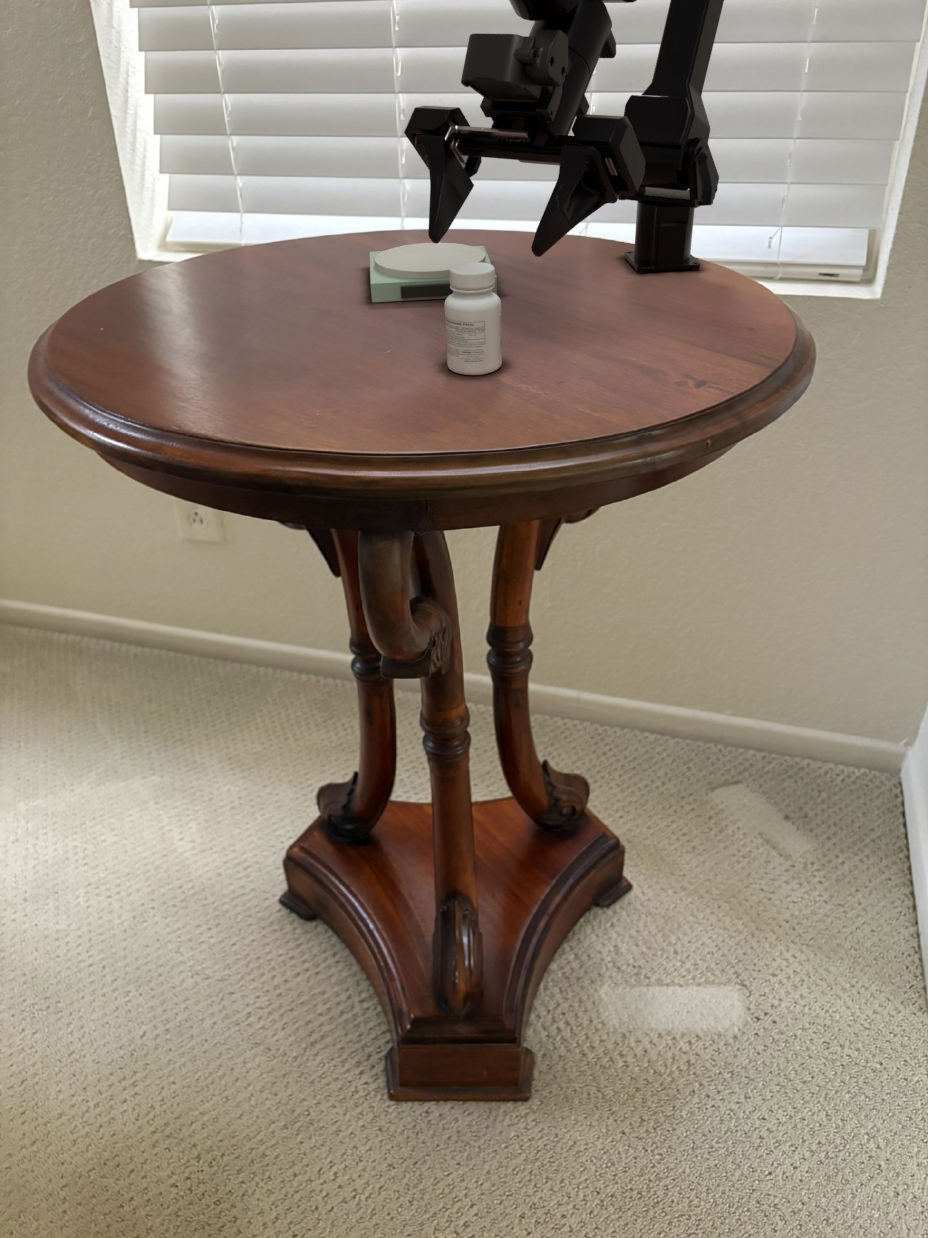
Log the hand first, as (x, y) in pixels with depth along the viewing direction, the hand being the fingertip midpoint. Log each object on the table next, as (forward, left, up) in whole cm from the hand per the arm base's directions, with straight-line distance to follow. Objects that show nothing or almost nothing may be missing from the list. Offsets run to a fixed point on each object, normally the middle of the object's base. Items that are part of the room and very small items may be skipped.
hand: (482, 246), depth 76 cm
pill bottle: (+1, -1, -9) cm, 9 cm away
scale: (-24, -3, -9) cm, 26 cm away
